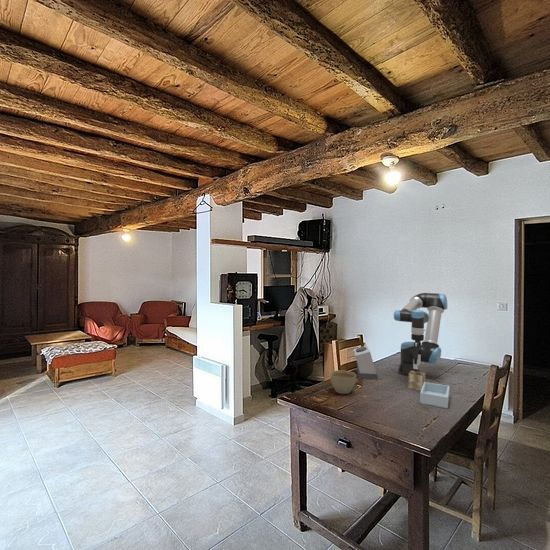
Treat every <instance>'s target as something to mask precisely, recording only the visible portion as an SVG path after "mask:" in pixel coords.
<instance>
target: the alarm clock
mask: <svg viewBox="0 0 550 550" xmlns="http://www.w3.org/2000/svg"><path fill="white" fill-rule="evenodd" d="M353 353H354V357H355V360H356V363H357V366H356V376H357V378H358V379H362V380H379V377H378V374H377V371H376V367H375V363H374V361H373V358H372V357H373V356H372V354H371V353H372V352H371V351H370V349H369V346H368V345H363V346H360V347H357V348H354V349H353Z"/></svg>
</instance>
